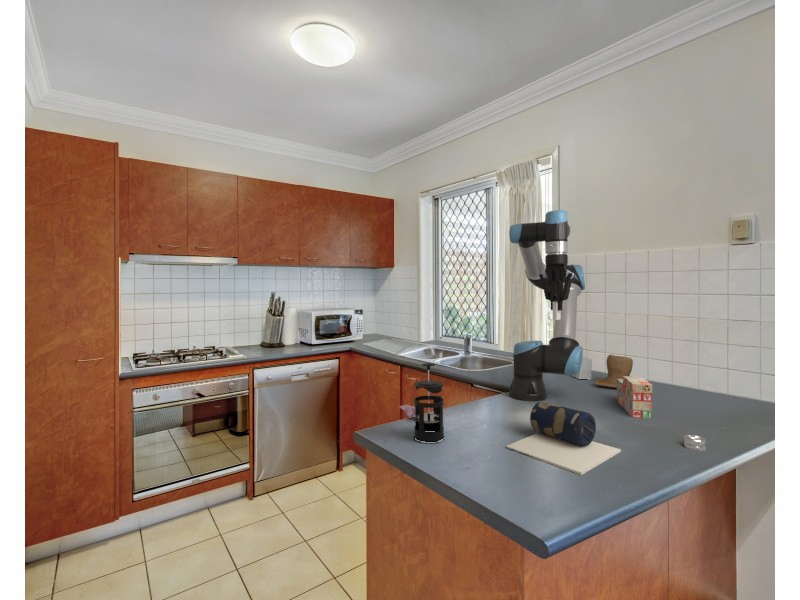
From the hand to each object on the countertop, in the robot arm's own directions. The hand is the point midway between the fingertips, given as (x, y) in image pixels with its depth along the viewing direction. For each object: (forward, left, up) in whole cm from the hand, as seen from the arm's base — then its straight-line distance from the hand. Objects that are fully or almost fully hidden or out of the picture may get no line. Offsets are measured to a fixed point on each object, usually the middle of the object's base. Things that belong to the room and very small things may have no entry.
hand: (556, 319), depth 145 cm
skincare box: (-23, +63, -35) cm, 76 cm away
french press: (-12, -52, -34) cm, 63 cm away
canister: (+6, -23, -29) cm, 38 cm away
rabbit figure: (-29, -43, -35) cm, 63 cm away
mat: (+19, -30, -34) cm, 49 cm away
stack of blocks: (+16, +26, -35) cm, 46 cm away
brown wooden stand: (-3, +55, -35) cm, 65 cm away
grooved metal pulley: (+42, 0, -35) cm, 54 cm away
